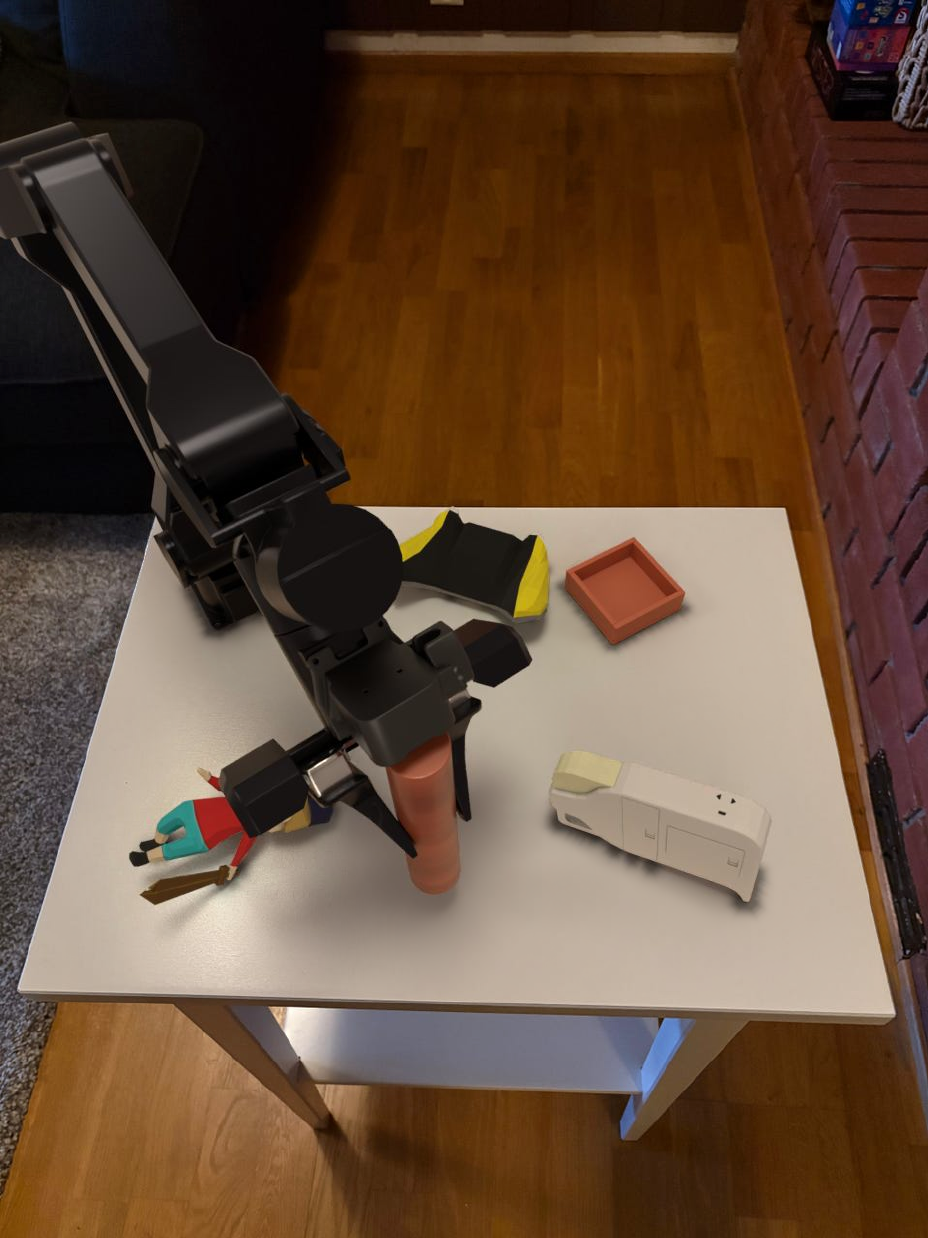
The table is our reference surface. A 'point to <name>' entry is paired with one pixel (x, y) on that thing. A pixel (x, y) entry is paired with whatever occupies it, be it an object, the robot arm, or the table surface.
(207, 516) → the robot arm
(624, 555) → the terracotta bin
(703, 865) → the white device casing
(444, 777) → the terracotta peg
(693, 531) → the table surface
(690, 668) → the table surface
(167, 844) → the toy
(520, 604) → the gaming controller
